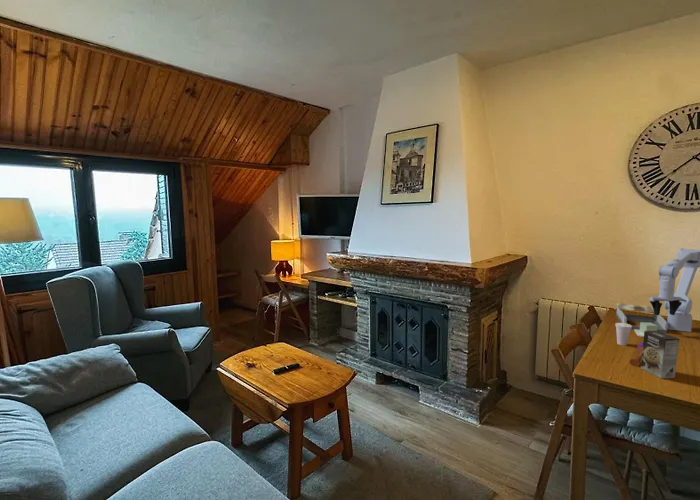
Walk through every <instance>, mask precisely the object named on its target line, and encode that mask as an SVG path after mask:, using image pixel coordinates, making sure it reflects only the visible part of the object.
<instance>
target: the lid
mask: <svg viewBox="0 0 700 500" xmlns="http://www.w3.org/2000/svg"><path fill="white" fill-rule="evenodd" d="M615 304H616V307H619V309H620V310H621V311H628V312H629V311H630V312H639V313H647V314H648V313H649V314H653V313H654V309H653V306H649V305H638V304H628V303H619V302H617V303H615Z"/></svg>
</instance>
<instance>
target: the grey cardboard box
mask: <svg viewBox="0 0 700 500" xmlns="http://www.w3.org/2000/svg"><path fill="white" fill-rule="evenodd" d="M642 342H643V352H642V359H641V362H640V369H642V370H643V371H645V372H647V373H650V374H651V375H653V376H655V377H657V378H659V379H674V378H676V369H677V361H678V353H679V346H680V345H679V344H680V338H678V337H676V336H673V335H670V334H668V333H663V332H660V331H644V337H643V341H642Z"/></svg>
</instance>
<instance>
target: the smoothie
mask: <svg viewBox="0 0 700 500" xmlns="http://www.w3.org/2000/svg"><path fill="white" fill-rule="evenodd" d="M624 320H625V316H623V323H621V322H616V323H615V324H614V325H615V328H616V329H615V331H616V344H617V345H620V346H624V347H626V346H627V345H628V342H629V338H630V335H631V330H633V329H632V326H631V325H632V324H630V323H629V324H628V323H627V324H626V323H624Z"/></svg>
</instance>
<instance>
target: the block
mask: <svg viewBox="0 0 700 500" xmlns="http://www.w3.org/2000/svg"><path fill="white" fill-rule="evenodd" d="M639 326H640V331H639V332H641V333H643V334H644V331H657V328H658V326H657V325H655V324H654V323H648V322H639Z"/></svg>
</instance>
